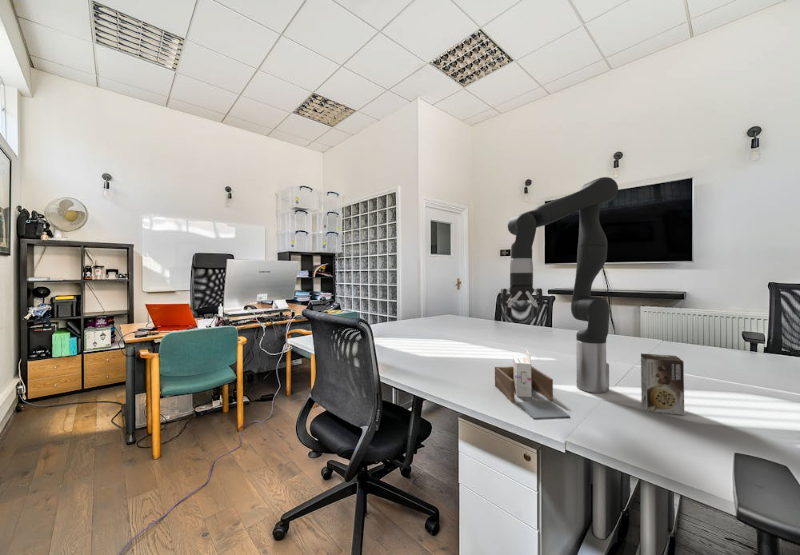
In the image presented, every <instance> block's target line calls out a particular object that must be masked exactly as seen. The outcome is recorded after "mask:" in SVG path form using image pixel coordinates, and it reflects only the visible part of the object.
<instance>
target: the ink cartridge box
mask: <svg viewBox="0 0 800 555" xmlns="http://www.w3.org/2000/svg"><path fill="white" fill-rule="evenodd" d="M525 355H526V356H513V357H512V358H513V365H512V366H514V393H515V395H516V397H518V398H519V397H520V398H532V395H533V394H532V393H533V392H532V388H533V387H532V386H531V366H532V359H531V354H530V352H529V351H528V349H527V348H525Z"/></svg>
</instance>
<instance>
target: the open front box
mask: <svg viewBox="0 0 800 555" xmlns="http://www.w3.org/2000/svg"><path fill="white" fill-rule="evenodd" d="M553 382H554V379H553V378H551V377H550V376H548V375H546V373H543V372H542V371H540V370H539V369H537V368H536V367H534V366H532V365H531V388H533V389H534V390H535V391H537V392H538V393H539V394H541V395H542V396H543V397H545V398H546V399H547V400H548V401H551V402H552V401H554V383H553ZM494 387H496V389H498V390H499V391H500V393H502V394H503V395H504V396H505V398H507V400H509V401H510V402H511V403H515V389H514V366H513V365H512V366H494Z"/></svg>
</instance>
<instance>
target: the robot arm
mask: <svg viewBox="0 0 800 555" xmlns="http://www.w3.org/2000/svg"><path fill="white" fill-rule="evenodd" d="M618 193H619V185H618V183H617V182H616V180H615V179H613V178H611V177H609V176H604V177H603V176H602V177H599V178H596V179H593V180H591V181H588V182H587V183H584V184H583V186H582V187H581V188H580V190H578V191H575V192H573V193H571V194H568V195H565V196H563V197H559V198H557V199H556V198H555V199H554V200H552V201H549V202H547V203H544V204H542V205H540V206H537V207H536V208H533V209H532V210H529V211H525V212H523V213H521V214H518V215H515V216H513V217H512V218H510V220H509V221H508V223H507V230H508V232H509V233H510V234H511V235H514V236H515V240H514V242H512V244H511V246H510V262H509V263H510V264H509V288H501V289H500V296H499V297H500V299H499V305H500V306H503V307H505V317H507V319H512V312H513V310H512V309H513V308H512V306H513V304H514V303H516V301H518V302H519V301H520V302H521V301H522V302H523V301H524V302H526V301H527V302H528V303H529V304H530V318H532V319H535V318H536V317H537V316H538V307H539V306H543V305H544V300H543V297H544V296H543V289H542V288H541V287H536V288H534V263H533V245H534V242H535V241H534V240H535V237H536V232H537V228H541V227H545V226H547V225H550V224H552V223H555V222H557V221H559V220H561V219H563V218H565V217H568V216H570V215H572V214H574V213H576V212H579V213H578V214H579V222H578V223H579V224H578V226H579V228H578V241H577V242H578V243H577V250H576V251H577V253H576V254H577V255H576V268H575V270H576V271H575V280H574V286H573V289H572V290H573V291H572V292H573V293H572V297H571V303H570V310H571V315H572V317H573V318H574V319H575V320H578V321H582V322H587V326H586V327H587V328H585V329H584V330H579V331H576V335H575V336H576V337H575V338H576V340H575V341H576V347H575V348H576V351H575V352H576V382H575V383H576V388H578V389H580V390H582V391H584V392H588V393H595V394H601V393H606V392H609V391H610V364H609V363H607V337H608V336H609V335H608V334H609V329H610V328H609V326H610V325H609V324H610V311H611V310H610V306H609V303H608V300H606V298H605V297H602V296H591V292H592V286H593V283H594V281H595V279H596V277H597V276H598V274H599V273H600V271H602V268H603V267H604V266H605V264H606V262H607V258H608V257H607V256H608V239H607V236H606V233H605V231H604V230H603V227H602V225H601V223H600V210H601V209H600V208H601V206H602V205H604V204H608V203H609V202H611V201H613V200H614V199H615V198H616V196H617V195H618ZM508 294H510V296H509V298H508V300H507V295H508ZM533 294H534V295H535V298H534V297H533V296H532V295H533Z"/></svg>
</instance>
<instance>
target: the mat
mask: <svg viewBox="0 0 800 555" xmlns="http://www.w3.org/2000/svg"><path fill="white" fill-rule="evenodd" d="M516 404H518V406H519V407H520V408H521V409H523V411H524V412H526V413H527V414H528V415H529V416H530V417H531V418H532V419H533V420H541V419H542V420H543V419H545V420H546V419H562V418H565V419H566V418H567V419H568V418H571V415H570V414H568V412H565V411H564V409H561V407H559V406H558V405H556V404H555V403H554V402H553V401H552V400H551V401H550V400H535V401H517V402H516Z"/></svg>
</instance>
